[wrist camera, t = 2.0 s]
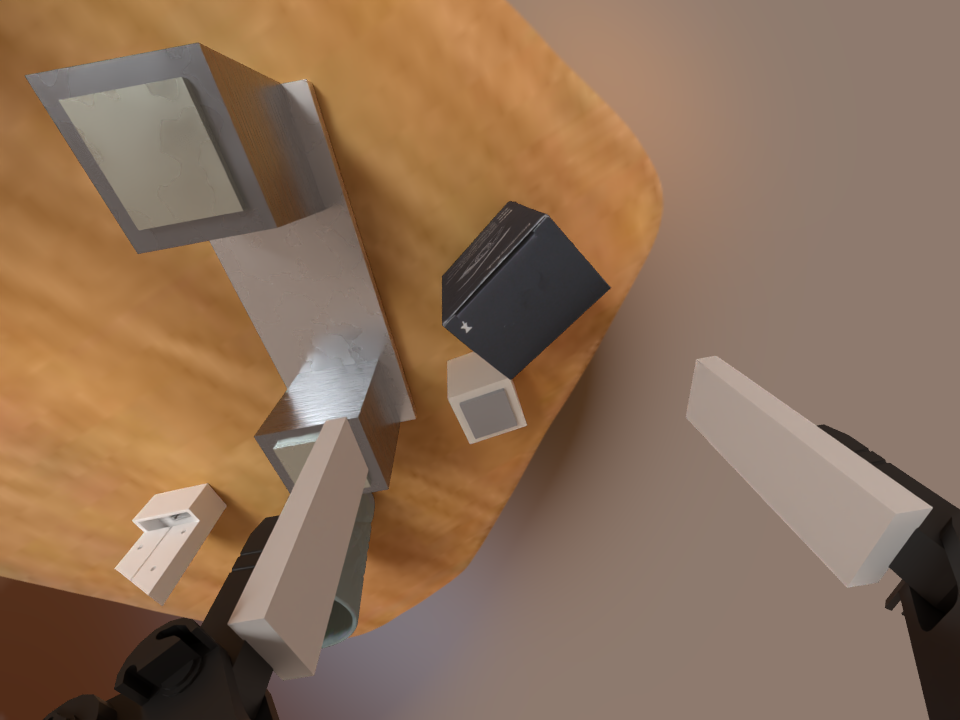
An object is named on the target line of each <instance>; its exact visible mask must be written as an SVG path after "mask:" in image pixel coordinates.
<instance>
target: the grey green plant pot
mask: <svg viewBox="0 0 960 720" xmlns="http://www.w3.org/2000/svg"><path fill="white" fill-rule="evenodd" d="M374 508H375V503H374V497H373V495H372V493H371V492H370V493H365V494H362V496H361V500H360V504H359V508H358V511H357V515H356V519H355V523H354V527H353V530H352V534H351V538H350V542H349V545H348V549H347V553H346V557H345V561H344V564H343V568H342V572H341V576H340V580H339V583H338V587H337V591H336V595H335V598H334V602H333V606H332V610H331V614H330V617H329V621H328V625H327V629H326V632H325V636H324V640H323V644H322V648H326V647H330V646H332V645H335V644H338V643H340V642H342V641H344V640H345V639H347V638H348V637H349V636H350V635H352V633H353V632H354V630H355V629H356V627H357V624H358V617H359V610H360V602H361V595H362V588H363V580H364V578H363V575H364V574H365V568H366V561H367V551H368V549H369V544H368V542H369V541H370V533H371V522H372V519H373V515H374Z"/></svg>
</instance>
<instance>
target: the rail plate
mask: <svg viewBox="0 0 960 720" xmlns="http://www.w3.org/2000/svg"><path fill="white" fill-rule="evenodd" d="M25 77H26V79H27V80H28V82H29V84H30V85H31V87H32V88H33V90H34V91H35V93H36V95H37V96H38V98H39V99H40V101H41V102H42V104H43V106H44V107H45V109H46V110H47V112H48V113H49V115H50V117H51V118H52V120H53V121H54V123H55V124H56V126H57V128H58V129H59V131H60V132H61V134H62V135H63V137H64V139H65V140H66V142H67V143H68V145H69V146H70V148H71V150H72V151H73V153H74V154H75V156H76V157H77V159H78V161H79V162H80V164H81V165H82V167H83V168H84V170H85V172H86V173H87V175H88V176H89V178H90V179H91V181H92V183H93V184H94V186H95V187H96V189H97V190H98V192H99V194H100V195H101V197H102V198H103V200H104V202H105V203H106V205H107V206H108V208H109V209H110V211H111V213H112V214H113V216H114V217H115V219H116V220H117V222H118V224H119V225H120V227H121V228H122V230H123V231H124V233H125V235H126V236H127V238H128V239H129V241H130V242H131V244H132V246H133V247H134V249H135V250H136V252H137V253H138V254H140V253H145V252H151V251H156V250H162V249H167V248H172V247H178V246H183V245H188V244H194V243H199V242H204V241H210V243H211V245H212V247H213V249H214V251H215V252H216V254H217V256H218V258H219V260H220V262H221V264H222V266H223V268H224V270H225V271H226V273H227V275H228V277H229V279H230V281H231V283H232V285H233V287H234V289H235V290H236V292H237V294H238V296H239V298H240V300H241V302H242V304H243V306H244V308H245V309H246V311H247V313H248V315H249V317H250V319H251V321H252V323H253V325H254V327H255V328H256V330H257V332H258V334H259V336H260V338H261V340H262V342H263V344H264V346H265V347H266V349H267V351H268V353H269V355H270V357H271V359H272V361H273V363H274V365H275V366H276V368H277V370H278V372H279V374H280V376H281V378H282V380H283V382H284V384H285V385H286V387H287V390H286V392H285V393H284V395H283V396H282V398H281V399H280V400H279V402H278V403H277V405H276V406H275V407H274V409H273V410H272V412H271V413H270V415H269V416H268V417H267V419H266V420H265V422H264V423H263V424H262V426H261V427H260V429H259V430H258V432H257V433H256V434H255V436H254V437H255V439H256V441H257V442H258V444H259V445H260V447H261V449H262V450H263V452H264V453H265V455H266V456H267V458H268V460H269V461H270V463H271V464H272V466H273V467H274V469H275V471H276V472H277V474H278V475H279V477H280V478H281V480H282V482H283V483H284V485H285V486H286V488H287V489H288V491H289V493H290V494H291V492H292V489H293V487H294V485H295V483H296V481H297V479H298V477H299V475H300V473H301V471H302V469H303V467H304V465H305V463H306V461H307V458H308V456H309V454H310V452H311V450H312V448H313V446H314V444H315V442H316V440H317V438H318V436H319V434H320V432H321V430H322V428H323V425H324V423H325V421H326V420H331V419H337V418H343V417H347V420H348V422H349V425H350V427H351V429H352V432H353V434H354V437H355V439H356V441H357V444H358V446H359V448H360V451H361V453H362V456H363V458H364V460H365V463H366V465H367V468H368V474H367V477H366V481H365V485H364V489H363V493H362V494H365V493H370V492H376V491H381V490H387V489H389V484H390V479H391V473H392V467H393V462H394V456H395V450H396V444H397V439H398V433H399V427H400V422H403V421H408V420H413V419H416V414H417V412H416V409H415V406H414V403H413V400H412V396H411V393H410V390H409V387H408V384H407V381H406V378H405V374H404V371H403V368H402V365H401V362H400V359H399V356H398V352H397V349H396V346H395V343H394V340H393V337H392V334H391V330H390V327H389V324H388V321H387V318H386V315H385V312H384V308H383V305H382V302H381V299H380V296H379V293H378V290H377V286H376V283H375V280H374V277H373V274H372V271H371V267H370V264H369V261H368V258H367V255H366V252H365V249H364V245H363V242H362V239H361V236H360V233H359V230H358V227H357V223H356V220H355V217H354V214H353V211H352V208H351V205H350V201H349V198H348V195H347V192H346V189H345V186H344V183H343V179H342V176H341V173H340V170H339V167H338V164H337V161H336V157H335V154H334V151H333V148H332V145H331V142H330V139H329V135H328V132H327V129H326V126H325V123H324V120H323V116H322V113H321V110H320V107H319V104H318V101H317V98H316V94H315V91H314V88H313V85H312V82H310V81H308V80H307V79H304V80H299V81H294V82H288V83H283V84H281V83H279V82H277V81H275V80H273V79H271V78H268V77H266V76H264V75H262V74H260V73H258V72H256V71H254V70H252V69H250V68H248V67H246V66H244V65H242V64H240V63H238V62H236V61H234V60H232V59H230V58H228V57H226V56H224V55H222V54H220V53H218V52H216V51H214V50H212V49H210V48H208V47H206V46H204V45H202V44H200V43H194V44H189V45H184V46H178V47H173V48H168V49H162V50H157V51H152V52H147V53H141V54H136V55H131V56H125V57H120V58H115V59H109V60H104V61H99V62H94V63H88V64H83V65H78V66H72V67H67V68H62V69H57V70H51V71H46V72H41V73H35V74H30V75H25Z"/></svg>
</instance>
